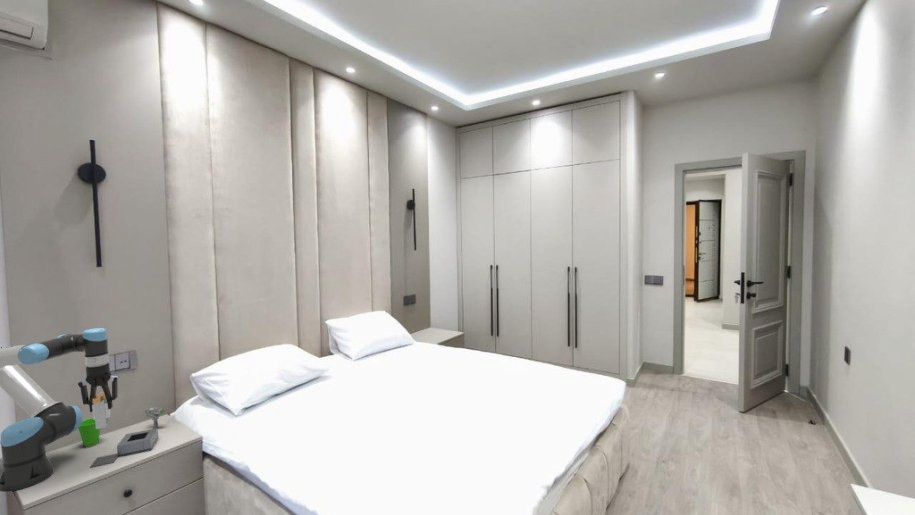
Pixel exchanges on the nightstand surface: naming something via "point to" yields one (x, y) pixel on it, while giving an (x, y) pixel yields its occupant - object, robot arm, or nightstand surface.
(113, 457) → the mat
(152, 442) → the chuck block
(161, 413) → the mechanical component
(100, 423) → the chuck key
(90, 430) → the cup
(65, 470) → the nightstand surface
